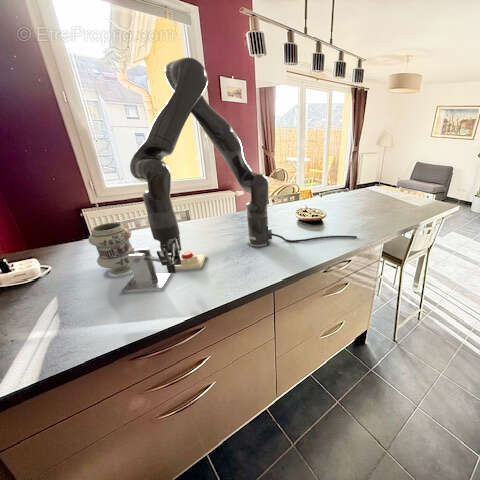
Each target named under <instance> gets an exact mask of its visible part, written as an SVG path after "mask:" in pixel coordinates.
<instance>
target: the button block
mask: <svg viewBox="0 0 480 480" xmlns="http://www.w3.org/2000/svg"><path fill="white" fill-rule="evenodd" d="M191 252H192V255H193V257H191V258H188V259H183V258H182V253H180V254H179V255H180V259H181V265H175V268H176V270H181V269H182V270H184V269H201V268H202V266H203V264H204V262H205V260H206V258H207V255H206V253H201V254H200V253H199V254H198V253H196V252H193V251H191Z"/></svg>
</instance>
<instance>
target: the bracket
mask: <svg viewBox="0 0 480 480" xmlns="http://www.w3.org/2000/svg"><path fill="white" fill-rule="evenodd" d="M133 251H134V254H129V255H128V259H129V262H130V265H131V268H132V269H131V271H132V274H133V277H132V278H131V279H130V280H129V281H128V283H126V285H125V286H124V287H123V288H122V289H121V292H128V291H129V292H131V291H141V290H142V291H143V290H155V289H163V288H164V286H165V285H166V283H167V281H168V280H169V278H170V277H171V275H172V274H169V273H157V270H156V266H155V264H154V262H155V261H150V260H146V259H145V255H144V254H135V253H136V252H137V251H139V252H144V253H147V254H146V256H152V253H151V248H149V247H145V248H143V247H142V248H141V247H140V248H134V250H133Z"/></svg>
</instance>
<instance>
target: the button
mask: <svg viewBox="0 0 480 480" xmlns="http://www.w3.org/2000/svg"><path fill="white" fill-rule="evenodd" d="M192 252H193V251H191V250H185V251H182V252H181V254H182V258H183V259H188V258H191V257H193V255H192Z"/></svg>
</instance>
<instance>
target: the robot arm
mask: <svg viewBox="0 0 480 480" xmlns="http://www.w3.org/2000/svg"><path fill="white" fill-rule="evenodd" d="M164 75H165V79H166V81H167V84H168V85H169V87H170V88H171V90H172V91H173V92H172V94H171V96H170V97H169V99H168V100H167V102H166V103H165V105H164V106H163V107H162V108H161V110H160V111H159V112H158V114H157V115H156V117H155V118H154V120H153V122H152V124H151V125H150V129H149V132H148V134H147V136H146V139H145V140H144V141H143V143H142V144H141V145H140V146H139V147H138V149H137V150H136V152H135V153H134V154H133V155H132V158H131V159H130V163H129V171H130V174H131V175H132V176H133V178H135V179H137V180H138V181H141V182H146V183H147V190H146V191H144V192H143V194H142V199H143V203H144V207H145V210H146V215H147V221H148V224H149V228H150V231H151V235H152V238H153V239H154V240H155V241H158V242H159V248H160V249H159V250H156V255H157V257H158V258H159V259H160V262H159V263H160V264H161V266H166V269H167V272H168V273H169V274H171V275H172V274H176V273H177V269H176V268H175V265H181V259H180V255H181V251H182V244H181V243H182V242H181V235H180V234H181V233H180V232H181V231H180V227H179V224H178V219H177V215H176V211H175V209H174V207H173V206H174V205H173V202H172V201H173V200H172V198H171V191H172V174H171V170H170V168H169V166H168V165H167V163H166V162H165V161H164V158H166V157H169V156H171V155H172V154H173V153H174V151H175V149H176V146H177V144H178V141H179V138H180V136H181V133H182V131H183V128H184V126H185V124H186V122H187V120H188V118H189V117H190V114H192V115H193V117H194V118H195V120H196V121H197V123H198V124H199V126H200V128H201V129H202V130H203V131H204V133H205V134H206V136H207V137H208V138H209V140H210V142H211V143H212V144H213V146H214V148H215V149H216V151H217V152H218V153H219V154H220V156H221V157H222V159H223V160H224V162H225V163H226V164H227V165H228V167H229V169H230V171H231V172H232V174H233V175H234V177H235V179H236V181H237V182H238V184H239V186H240V188H241V189H242V190H243V191H244V192H245V193H247V194H250V201H247V202H246V203H245V209H246V221H247V231H248V243H249V245H250V246H251V247H254V248H261V247H266V246H270V240H273V237H277V238H280V239H282V240H283V241H284V242H287V243H298V242H309V241H313V240H321V239H333V238H334V239H335V238H347V239H357V238H358V237H357V236H356V235H326V236H323V235H322V236H316V237H309V238H303V239H287V238H285V237H284V236H282V235H279V234H278V233H277V234H276V233H273V232H272V228H271V229H270V228H269V218H268V217H269V216H268V204H269V199H270V197H269V196H270V195H269V191H270V190H269V182H268V181H269V180H268V178H267V177H266V176H265V175H264V174H262V173H257V172H254V171H252V169H251V168H250V166H249V165H248V164H247V162H246V160H245V157H244V152H243V151H244V150H243V146H242V142H241V139H240V138H239V137H238V135H237V133H236V131H235V129H234V128H233V126H232V125H231V124H230V123H229V122H228V120H227V119H225V118H224V117H223V116H222V115H221V114H219V113H218V112H217V111H216V110H215V109H214V108H212V107H211V106H210V104H209V103H208V102H207V100H206V99H205V97H204V96H203V94H204V92H205V90H206V89H207V86H208V83H209V78H208V77H209V76H208V73H207V71H206V68H205V67H204V65H203V63H201V62H200V61H199V60H197V59H196V58H193V57H182V58H179V59H176V60H173V61H170V62H168V63H167V64H166V65H165V68H164ZM174 257H178V261H177V262H176V264H174Z"/></svg>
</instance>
